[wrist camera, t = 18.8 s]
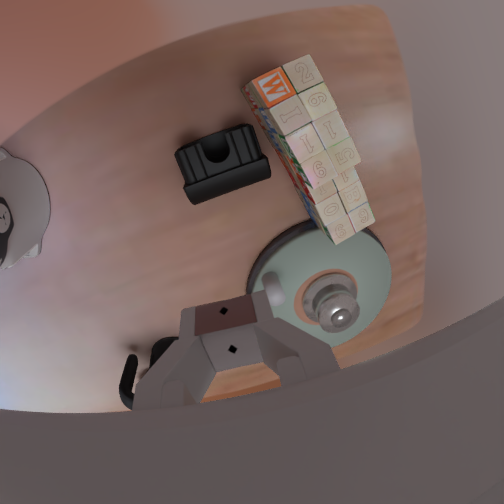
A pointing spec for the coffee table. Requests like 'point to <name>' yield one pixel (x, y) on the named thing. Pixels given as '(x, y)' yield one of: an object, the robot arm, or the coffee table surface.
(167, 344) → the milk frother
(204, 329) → the robot arm
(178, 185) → the coffee table surface
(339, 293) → the cover
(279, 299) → the turntable
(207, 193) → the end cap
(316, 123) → the stack of blocks
